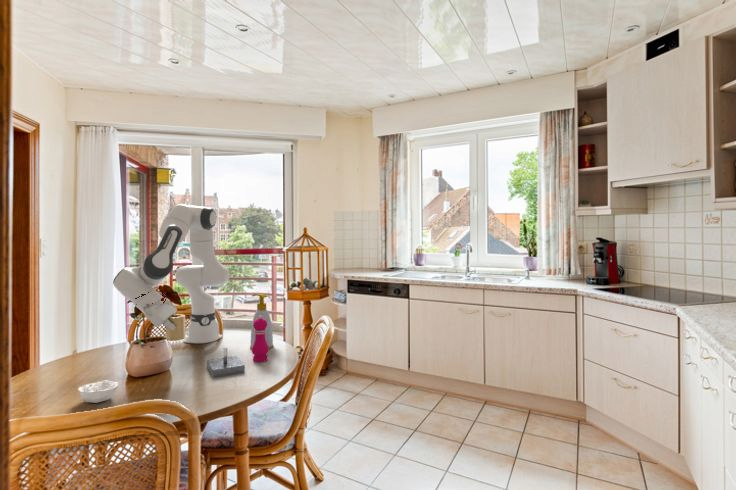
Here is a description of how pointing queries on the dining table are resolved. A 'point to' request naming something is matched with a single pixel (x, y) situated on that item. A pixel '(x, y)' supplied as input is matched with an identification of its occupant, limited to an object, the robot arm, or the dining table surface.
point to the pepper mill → (260, 340)
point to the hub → (179, 330)
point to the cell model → (98, 391)
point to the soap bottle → (265, 315)
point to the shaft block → (225, 365)
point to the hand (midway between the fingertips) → (177, 326)
